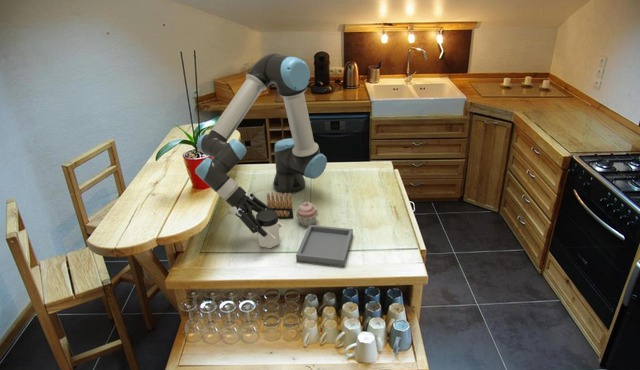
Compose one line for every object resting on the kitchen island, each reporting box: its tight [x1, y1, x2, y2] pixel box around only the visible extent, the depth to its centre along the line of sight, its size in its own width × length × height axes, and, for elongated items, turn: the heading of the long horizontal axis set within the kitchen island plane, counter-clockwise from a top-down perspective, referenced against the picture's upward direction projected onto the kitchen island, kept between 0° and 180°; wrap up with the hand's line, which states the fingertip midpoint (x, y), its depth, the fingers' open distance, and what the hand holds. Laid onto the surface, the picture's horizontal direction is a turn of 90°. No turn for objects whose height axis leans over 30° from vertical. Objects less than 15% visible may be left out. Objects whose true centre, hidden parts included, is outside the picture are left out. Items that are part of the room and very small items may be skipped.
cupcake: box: [295, 201, 319, 228], centre depth 186 cm, size 9×9×10 cm
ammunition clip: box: [266, 192, 294, 220], centre depth 190 cm, size 11×2×12 cm, turn 87°
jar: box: [255, 210, 281, 249], centre depth 173 cm, size 9×8×12 cm
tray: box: [295, 224, 354, 268], centre depth 172 cm, size 20×17×3 cm
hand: (276, 233), depth 173 cm, fingers closed on jar, 8 cm apart
